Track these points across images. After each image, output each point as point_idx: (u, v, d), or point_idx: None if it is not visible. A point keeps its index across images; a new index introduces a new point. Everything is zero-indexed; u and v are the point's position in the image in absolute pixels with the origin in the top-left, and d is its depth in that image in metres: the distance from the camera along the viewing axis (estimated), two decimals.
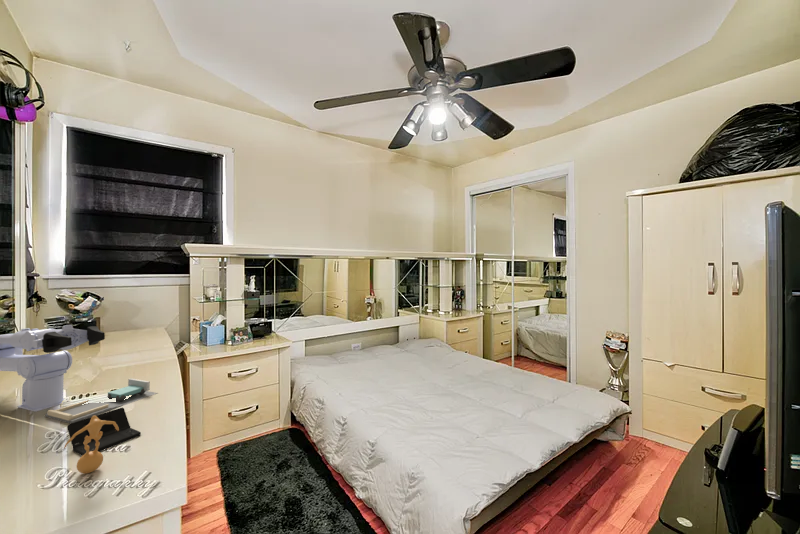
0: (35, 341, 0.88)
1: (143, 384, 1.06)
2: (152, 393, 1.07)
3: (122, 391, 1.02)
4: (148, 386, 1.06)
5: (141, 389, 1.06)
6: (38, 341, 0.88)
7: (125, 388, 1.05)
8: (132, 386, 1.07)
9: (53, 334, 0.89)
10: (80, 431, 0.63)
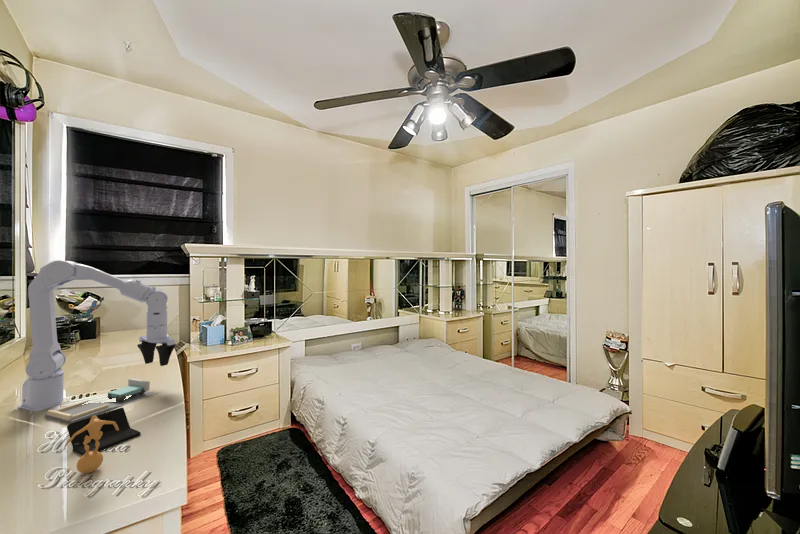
0: (173, 342, 1.11)
1: (143, 384, 1.06)
2: (152, 393, 1.07)
3: (122, 391, 1.02)
4: (148, 386, 1.06)
5: (141, 389, 1.06)
6: None
7: (125, 388, 1.05)
8: (132, 386, 1.07)
9: None
10: (80, 431, 0.63)
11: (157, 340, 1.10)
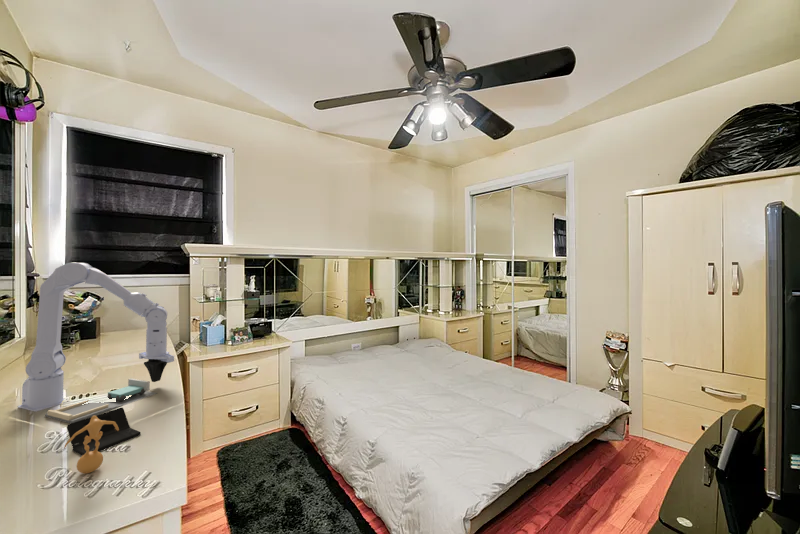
0: (173, 359, 1.11)
1: (143, 384, 1.06)
2: (152, 393, 1.07)
3: (122, 391, 1.02)
4: (148, 386, 1.06)
5: (141, 389, 1.06)
6: None
7: (125, 388, 1.05)
8: (132, 386, 1.07)
9: None
10: (80, 431, 0.63)
11: (157, 357, 1.10)
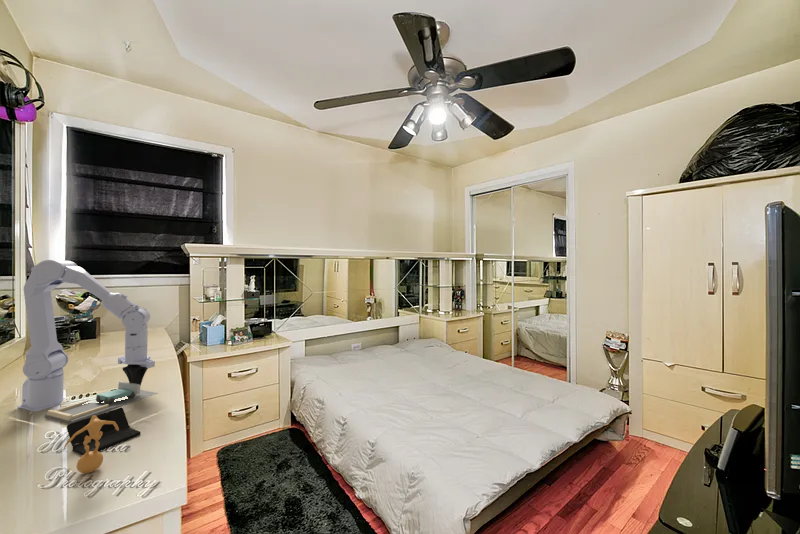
0: (153, 364, 1.05)
1: (134, 387, 1.03)
2: (152, 393, 1.07)
3: (112, 394, 0.99)
4: (138, 389, 1.03)
5: (131, 392, 1.03)
6: None
7: (115, 391, 1.02)
8: (122, 389, 1.04)
9: None
10: (80, 431, 0.63)
11: (136, 362, 1.04)
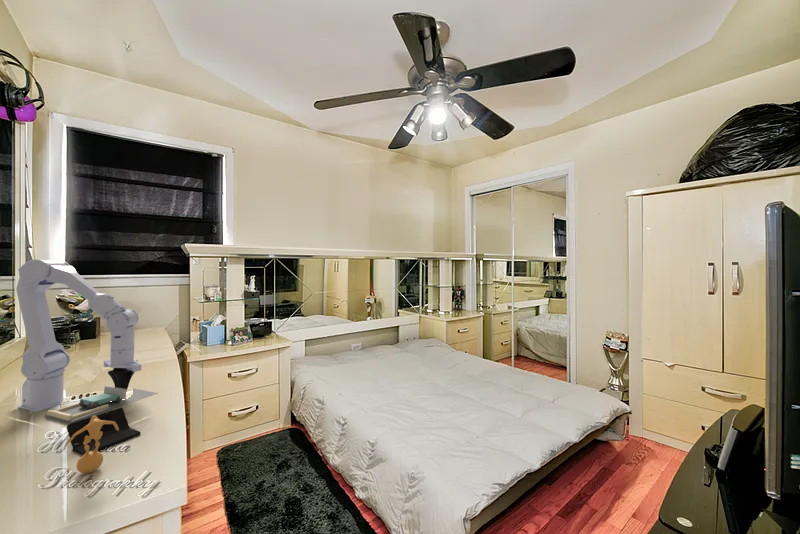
0: (140, 368, 1.01)
1: (120, 391, 0.99)
2: (152, 393, 1.07)
3: (96, 398, 0.95)
4: (125, 394, 0.99)
5: (117, 397, 0.99)
6: None
7: (100, 395, 0.98)
8: (107, 393, 1.01)
9: None
10: (80, 431, 0.63)
11: (122, 366, 1.00)
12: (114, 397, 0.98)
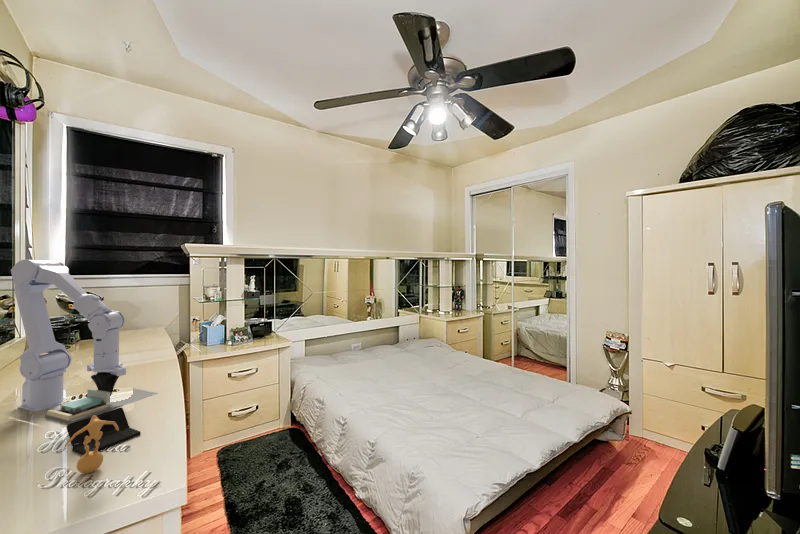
0: (125, 372, 0.97)
1: (103, 395, 0.95)
2: (152, 393, 1.07)
3: (78, 404, 0.91)
4: (109, 397, 0.95)
5: (100, 401, 0.95)
6: None
7: (82, 400, 0.94)
8: (91, 397, 0.96)
9: None
10: (80, 431, 0.63)
11: (105, 370, 0.96)
12: (98, 401, 0.94)
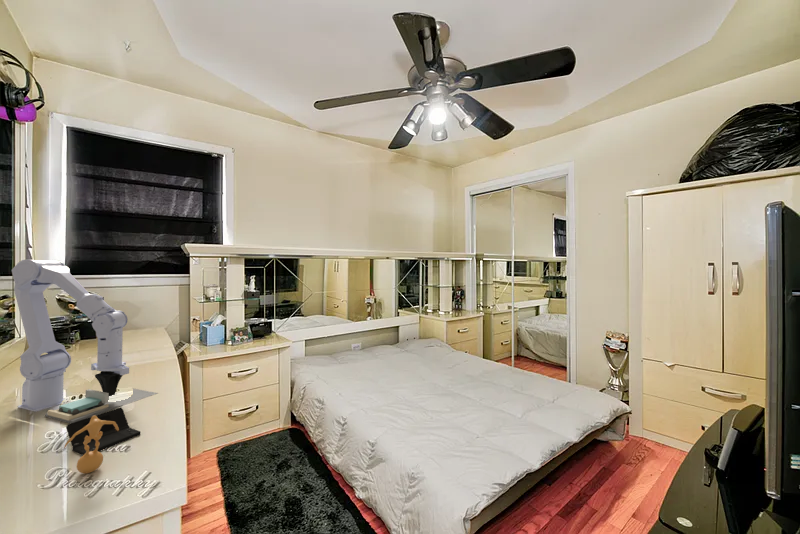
0: (128, 371, 0.98)
1: (101, 395, 0.95)
2: (152, 393, 1.07)
3: (76, 405, 0.91)
4: (107, 398, 0.95)
5: (99, 402, 0.94)
6: None
7: (80, 401, 0.93)
8: (89, 397, 0.96)
9: None
10: (80, 431, 0.63)
11: (109, 369, 0.97)
12: (96, 402, 0.93)
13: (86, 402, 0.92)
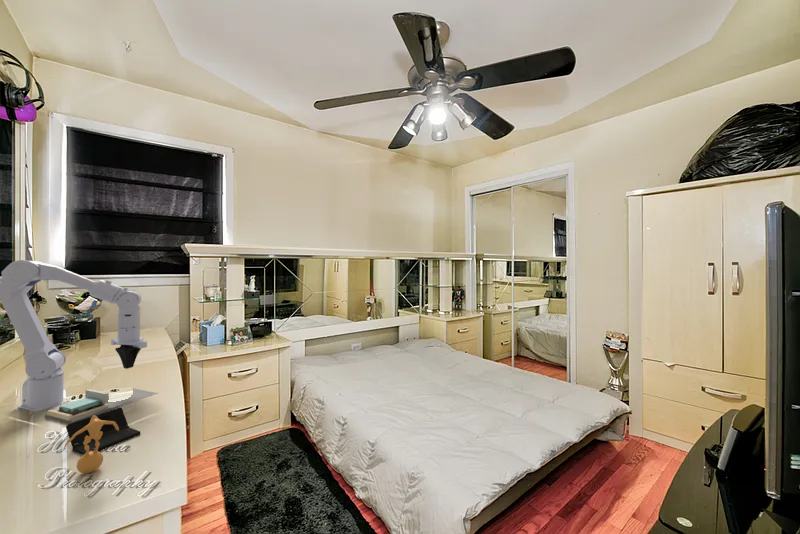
0: (146, 345, 1.07)
1: (101, 395, 0.95)
2: (152, 393, 1.07)
3: (76, 405, 0.91)
4: (107, 398, 0.95)
5: (99, 402, 0.94)
6: None
7: (80, 401, 0.93)
8: (89, 397, 0.96)
9: None
10: (80, 431, 0.63)
11: (128, 343, 1.06)
12: (96, 402, 0.93)
13: (86, 402, 0.92)
